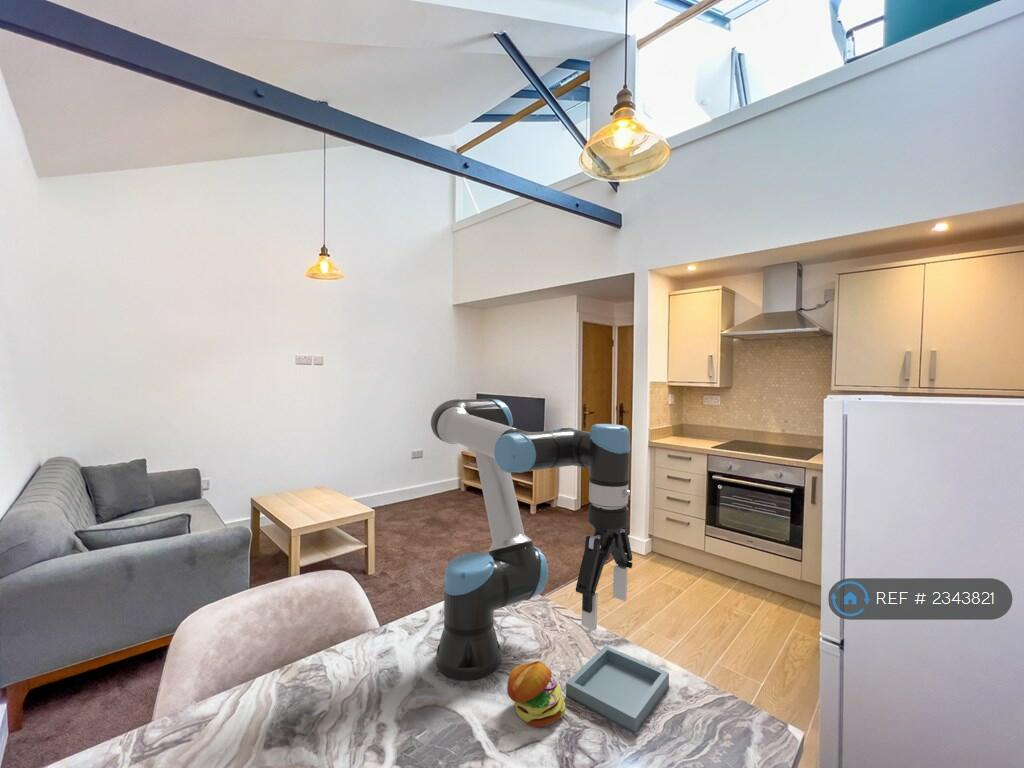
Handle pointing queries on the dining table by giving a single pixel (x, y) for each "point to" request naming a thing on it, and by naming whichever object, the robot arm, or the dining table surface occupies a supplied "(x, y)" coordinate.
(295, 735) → the dining table surface
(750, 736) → the dining table surface
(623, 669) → the bin
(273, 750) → the dining table surface
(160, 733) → the dining table surface
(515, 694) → the cheeseburger
